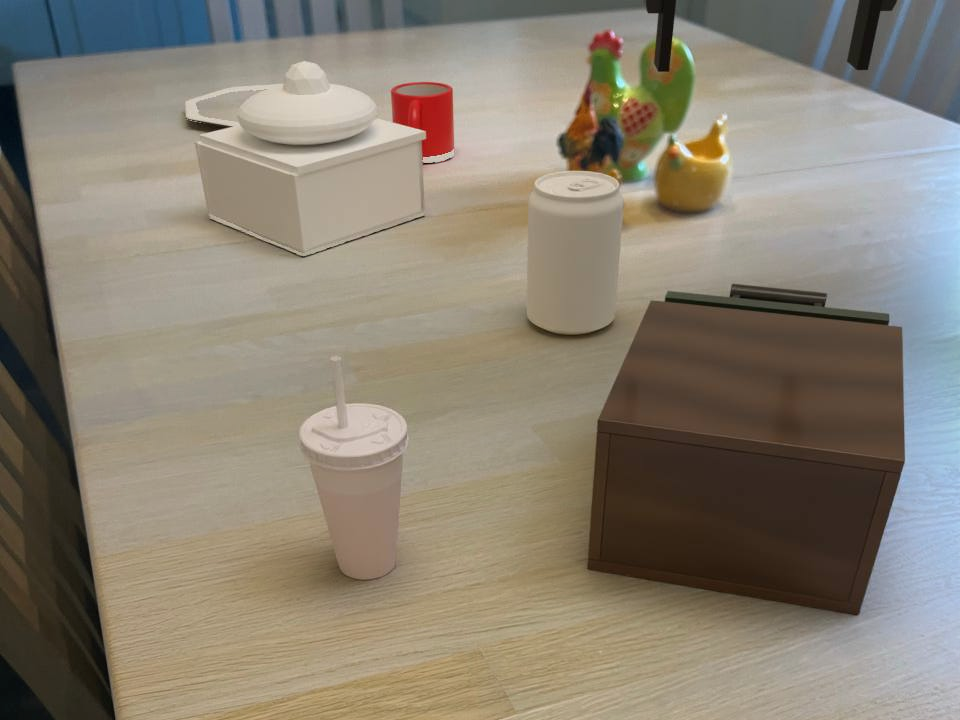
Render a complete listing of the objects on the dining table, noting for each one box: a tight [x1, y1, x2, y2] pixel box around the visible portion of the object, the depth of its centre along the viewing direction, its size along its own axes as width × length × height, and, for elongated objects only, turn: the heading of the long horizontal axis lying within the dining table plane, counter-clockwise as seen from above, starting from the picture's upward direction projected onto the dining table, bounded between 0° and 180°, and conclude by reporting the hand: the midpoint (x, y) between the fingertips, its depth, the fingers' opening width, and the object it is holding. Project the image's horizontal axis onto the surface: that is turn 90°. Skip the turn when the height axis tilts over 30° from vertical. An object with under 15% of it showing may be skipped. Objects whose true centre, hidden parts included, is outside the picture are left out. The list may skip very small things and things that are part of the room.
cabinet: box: [586, 300, 906, 616], centre depth 65 cm, size 18×17×11 cm
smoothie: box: [298, 355, 410, 581], centre depth 61 cm, size 6×6×14 cm
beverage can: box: [526, 170, 625, 336], centre depth 89 cm, size 8×8×12 cm
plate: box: [184, 83, 284, 129], centre depth 150 cm, size 24×24×2 cm
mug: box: [390, 81, 455, 160], centre depth 129 cm, size 8×12×8 cm, turn 176°
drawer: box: [664, 283, 890, 326], centre depth 71 cm, size 22×15×9 cm
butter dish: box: [194, 60, 426, 253], centre depth 110 cm, size 18×18×16 cm
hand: (759, 67), depth 71 cm, fingers open, 13 cm apart
